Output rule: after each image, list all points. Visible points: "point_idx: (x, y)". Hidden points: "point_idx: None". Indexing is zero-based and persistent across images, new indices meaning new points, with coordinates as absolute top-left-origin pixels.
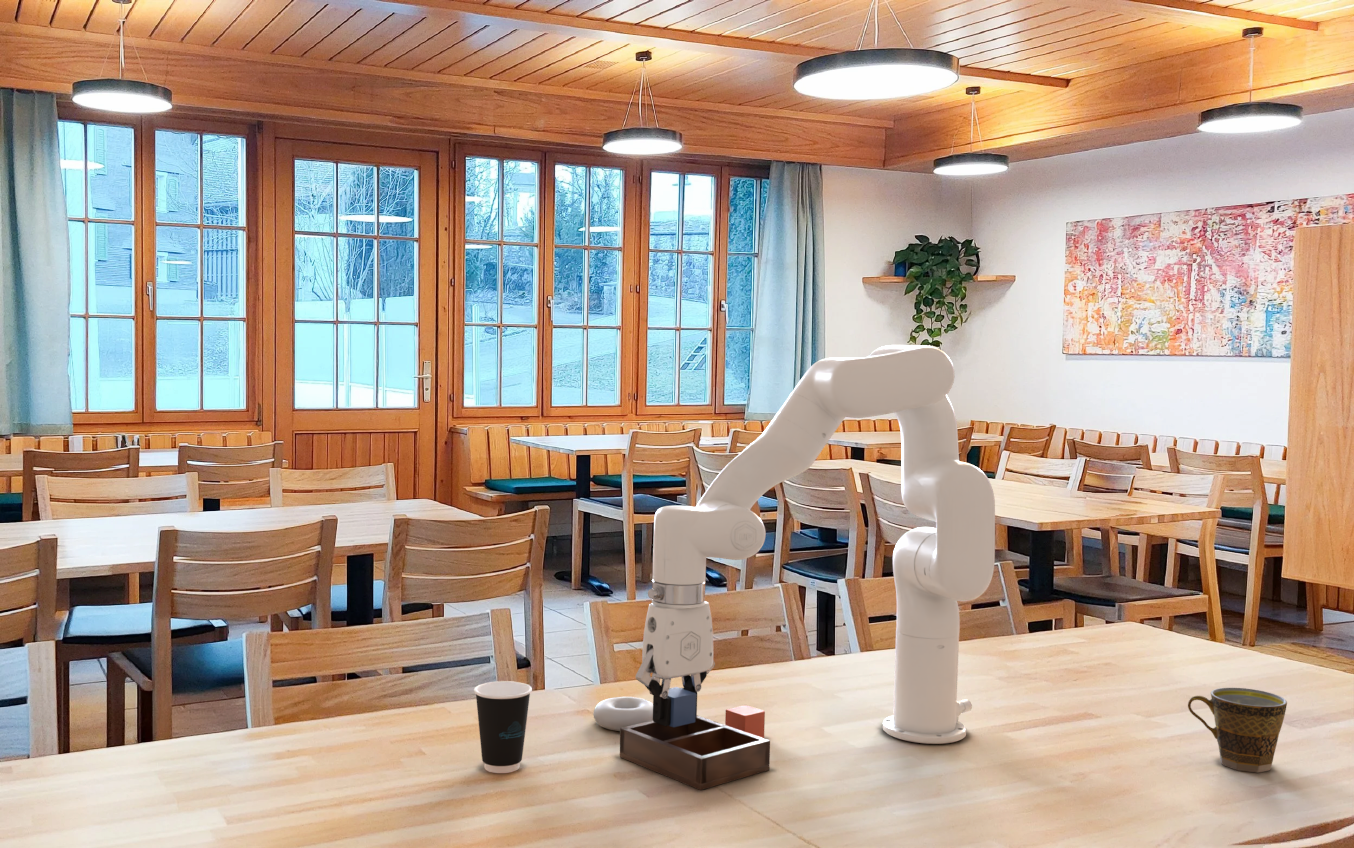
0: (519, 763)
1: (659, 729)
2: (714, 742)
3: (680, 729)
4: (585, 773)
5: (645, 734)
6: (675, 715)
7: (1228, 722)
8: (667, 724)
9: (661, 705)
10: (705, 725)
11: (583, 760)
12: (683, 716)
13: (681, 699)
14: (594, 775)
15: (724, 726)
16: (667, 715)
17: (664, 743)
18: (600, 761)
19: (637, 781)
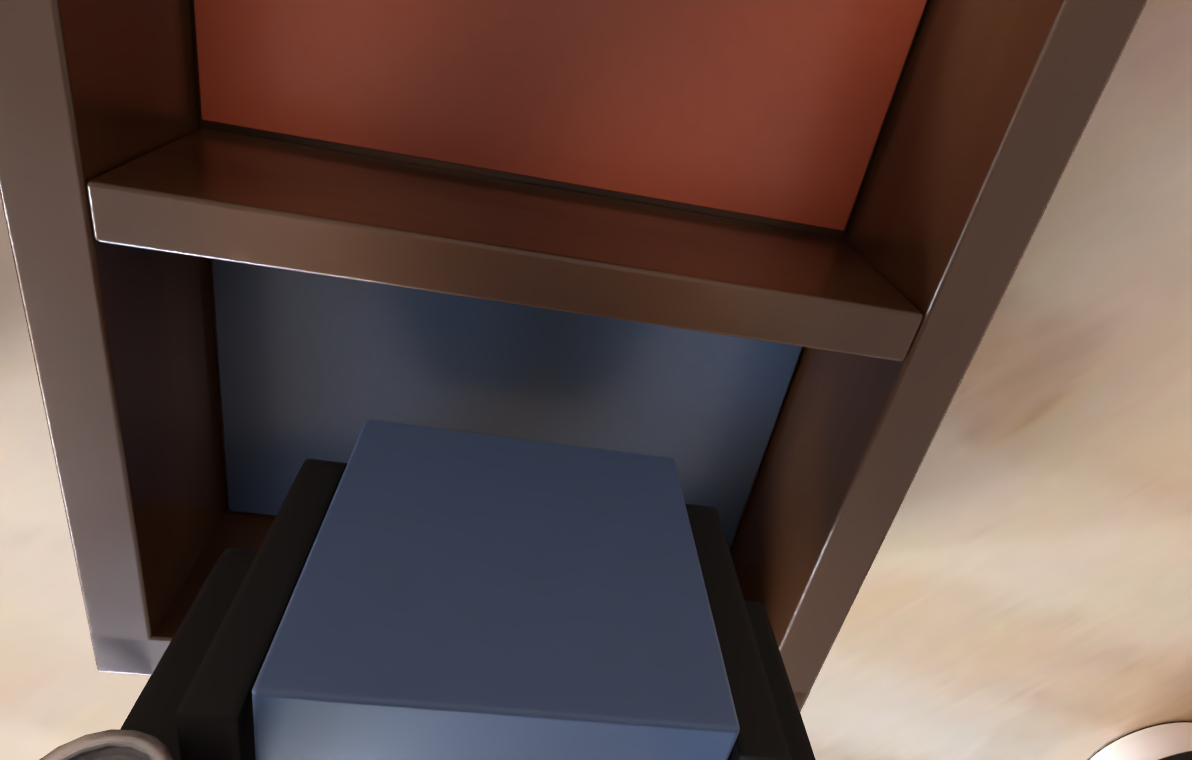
0: (1153, 750)
1: None
2: (297, 170)
3: None
4: (1075, 531)
5: None
6: (664, 534)
7: None
8: (713, 511)
9: (790, 716)
10: (146, 425)
11: (894, 644)
12: (540, 497)
13: (591, 674)
14: (1086, 484)
15: (59, 205)
16: (736, 579)
17: (968, 307)
18: (862, 590)
19: (1083, 251)
